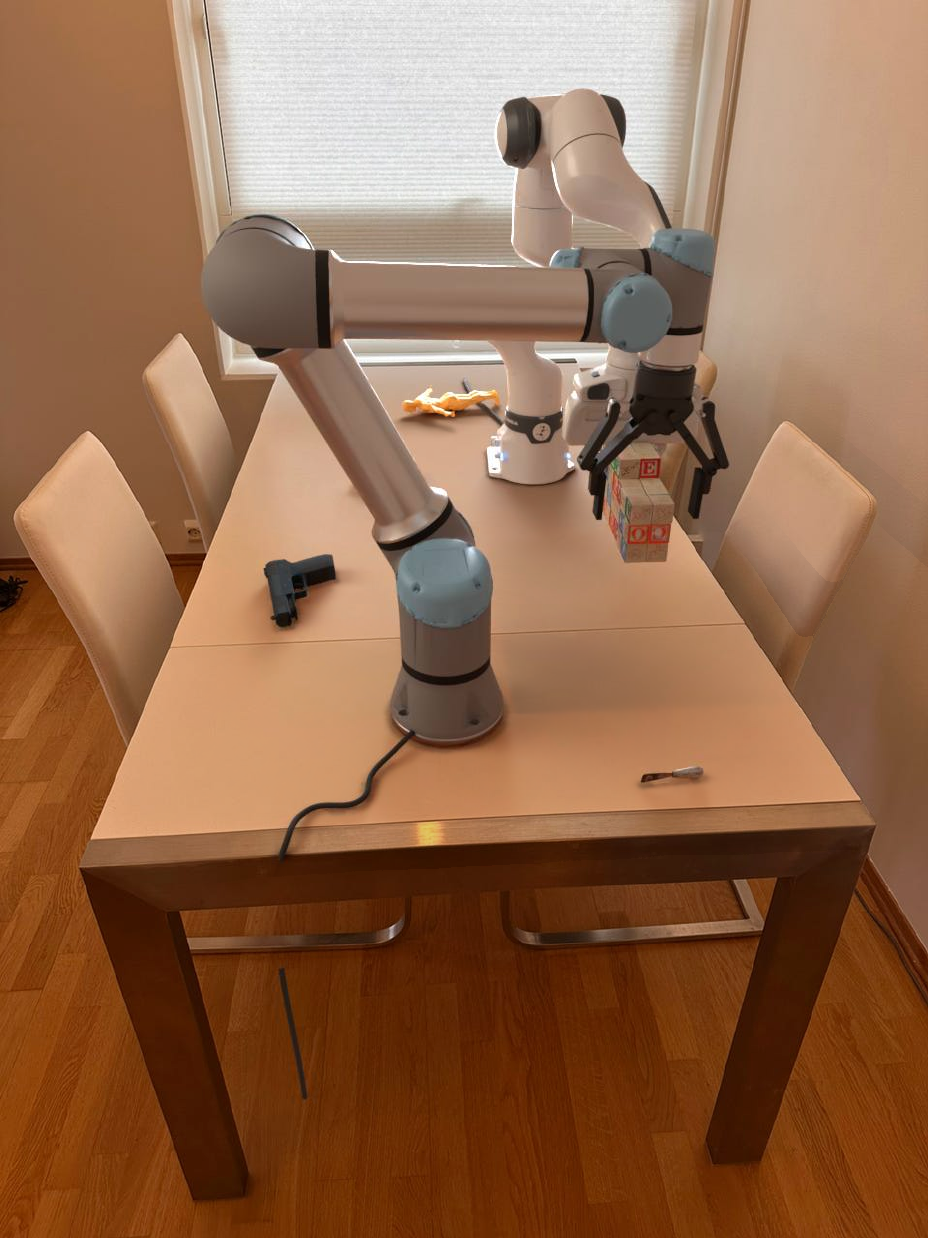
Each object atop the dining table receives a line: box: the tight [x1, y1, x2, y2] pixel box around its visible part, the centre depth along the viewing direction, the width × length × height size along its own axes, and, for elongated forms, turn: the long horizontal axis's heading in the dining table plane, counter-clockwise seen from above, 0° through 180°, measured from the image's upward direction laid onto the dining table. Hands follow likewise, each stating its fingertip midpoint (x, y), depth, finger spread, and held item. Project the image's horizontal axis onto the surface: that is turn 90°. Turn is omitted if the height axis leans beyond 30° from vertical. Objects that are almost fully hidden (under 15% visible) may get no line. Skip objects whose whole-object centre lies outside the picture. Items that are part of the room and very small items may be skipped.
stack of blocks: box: [602, 442, 675, 564], centre depth 133 cm, size 21×6×12 cm, turn 3°
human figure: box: [402, 385, 500, 418], centre depth 225 cm, size 20×20×4 cm
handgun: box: [263, 553, 337, 628], centre depth 146 cm, size 3×18×12 cm
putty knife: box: [640, 765, 705, 784], centre depth 109 cm, size 1×8×2 cm, turn 103°
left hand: (645, 515), depth 124 cm, fingers open, 13 cm apart
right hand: (625, 469), depth 138 cm, fingers closed on stack of blocks, 6 cm apart
